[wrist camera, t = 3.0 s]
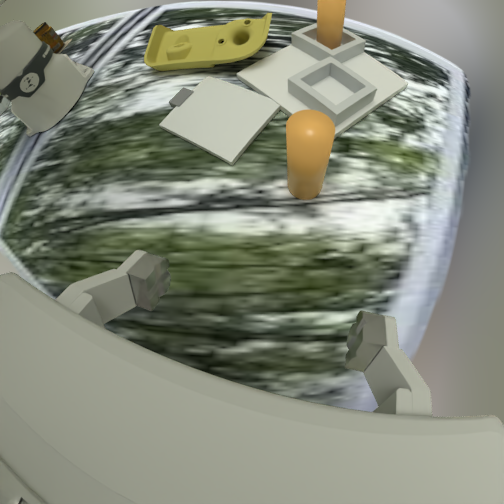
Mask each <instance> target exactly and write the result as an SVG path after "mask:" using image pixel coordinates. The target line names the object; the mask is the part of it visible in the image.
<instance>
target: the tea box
mask: <svg viewBox="0 0 504 504" xmlns="http://www.w3.org/2000/svg"><path fill="white" fill-rule="evenodd" d="M9 103H10V101H9V100H8V99H7V98H5V97H3V96H2V94H1V93H0V115H1V114H2V113H3V112H4V111H5V110H7V109H8V106H9Z"/></svg>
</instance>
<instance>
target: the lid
mask: <svg viewBox="0 0 504 504" xmlns="http://www.w3.org/2000/svg"><path fill="white" fill-rule="evenodd" d="M169 103H170V105H171V107H174V109H173V110H172V111H171V112H170V113H169V115H168V116H167V117H166V118H165V119H164V120H163V121H162V122H161V123H160V124H159V125H160V127H161V128H162V129H164V130H166V131H168V132H170V133H172V134H174V135H176V136H178V137H180V138H182V139H184V140H186V141H188V142H190V143H192V144H194V145H196V146H197V147H199V148H201V149H203V150H205V151H207V152H209V153H211V154H212V155H214V156H216V157H218V158H220V159H222V160H223V161H225V162H227V163H229V164H231V165H232V166H233V165H234V163H235V162H236V161H237V160H238V158H239V157H240V156H241V155H242V154H243V152H244V151H245V150H246V149H247V148H248V146H249V145H250V144H251V143H252V142H253V140H254V139H255V138H256V137H257V136H258V134H259V133H260V132H261V131H262V130H263V129H264V127H265V126H266V125H267V124H268V123H269V122H270V121H271V119H272V118H273V117H274V116H275V115H276V114H277V113H278V112H279V110H280V105H279V104H277V103H276V102H275V101H273V100H272V99H270V98H268V97H265V96H263V95H260V94H258V93H255V92H253V91H250V90H248V89H245V88H242V87H240V86H237V85H234V84H231V83H229V82H226V81H223V80H220V79H217V78H214V77H211V76H207V77H206V78H205V79H204V80H203V81H202V82H200V83H199V84H198V85H197V86H196V87H195V88H194V89H193V90H192V91H191V90H189V89H186V88H183V89H181V90H180V91H179V92H178V93H177V94H176V95H175V96H174V97H173V98H172V99H171V100H170V101H169Z"/></svg>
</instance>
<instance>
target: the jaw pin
mask: <svg viewBox="0 0 504 504" xmlns="http://www.w3.org/2000/svg"><path fill="white" fill-rule="evenodd" d="M286 135H287V174H288V189H289V191H290V192H291V194H292V195H293V196H295V197H296V198H298V199H302V200H309V199H313V198H315V197H316V196H317V195H318V194H319V193H320V191H321V188H322V184H323V181H324V177H325V173H326V169H327V165H328V161H329V157H330V153H331V149H332V144H333V140H334V136H335V126H334V123H333V121H332V120H331V119H330V118H329V117H328V116H327V115H325V114H324V113H322V112H320V111H316V110H308V109H307V110H301V111H298V112H296V113H294V114H293V115H291V116H290V117H289V119H288V121H287V124H286Z"/></svg>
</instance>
